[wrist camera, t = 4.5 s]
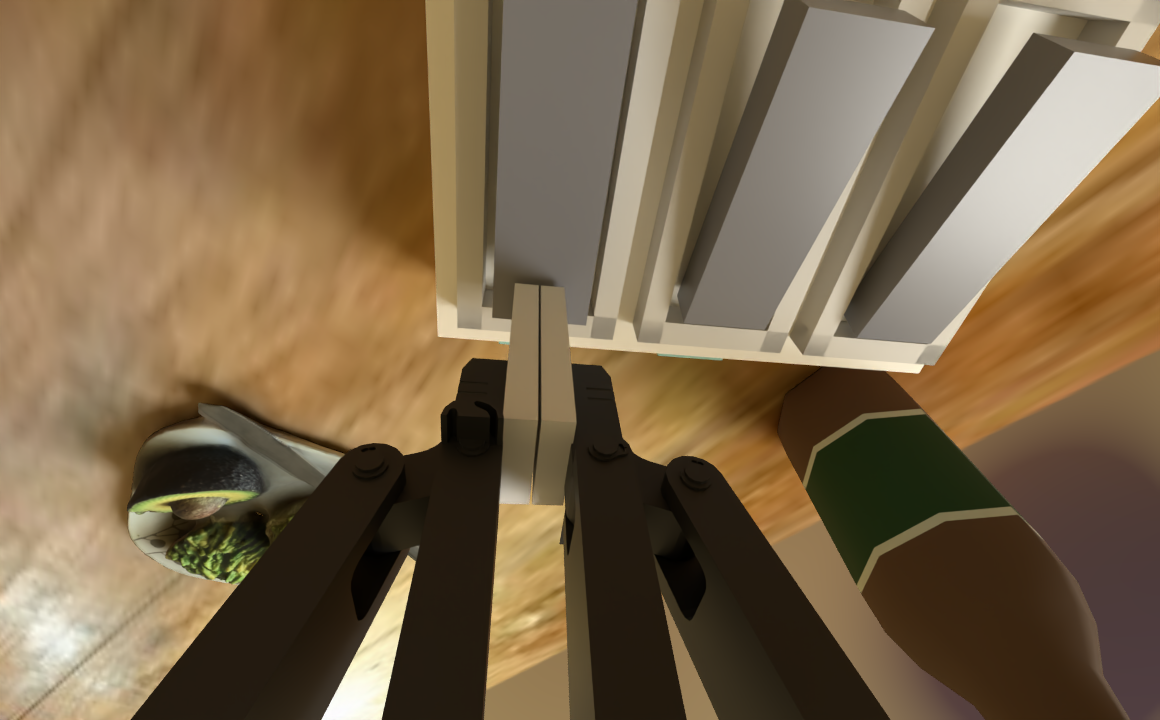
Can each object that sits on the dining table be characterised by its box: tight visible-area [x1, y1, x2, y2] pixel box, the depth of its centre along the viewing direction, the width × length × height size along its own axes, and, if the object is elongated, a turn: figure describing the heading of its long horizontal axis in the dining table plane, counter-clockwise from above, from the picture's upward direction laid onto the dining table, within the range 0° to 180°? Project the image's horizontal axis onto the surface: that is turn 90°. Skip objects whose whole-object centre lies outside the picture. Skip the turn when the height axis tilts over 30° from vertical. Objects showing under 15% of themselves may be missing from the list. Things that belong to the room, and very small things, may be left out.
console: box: [425, 0, 1160, 373], centre depth 19 cm, size 16×22×6 cm
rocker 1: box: [492, 0, 638, 326], centre depth 15 cm, size 10×3×2 cm, turn 173°
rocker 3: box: [844, 33, 1160, 344], centre depth 17 cm, size 10×3×2 cm, turn 173°
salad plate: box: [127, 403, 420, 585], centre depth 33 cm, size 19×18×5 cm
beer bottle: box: [777, 366, 1130, 720], centre depth 22 cm, size 8×8×24 cm
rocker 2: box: [677, 0, 935, 330], centre depth 16 cm, size 10×3×2 cm, turn 173°
